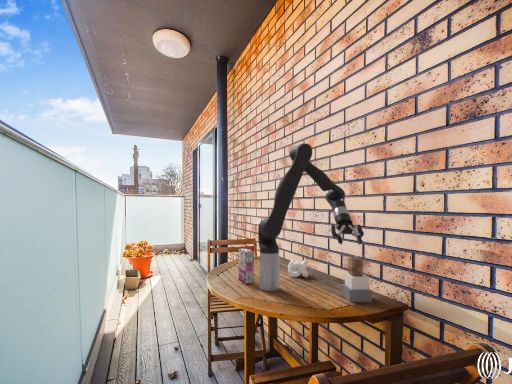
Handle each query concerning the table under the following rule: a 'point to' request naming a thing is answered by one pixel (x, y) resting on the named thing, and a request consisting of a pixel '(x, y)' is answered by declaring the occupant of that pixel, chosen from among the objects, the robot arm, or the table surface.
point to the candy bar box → (246, 266)
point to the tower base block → (357, 294)
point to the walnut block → (355, 266)
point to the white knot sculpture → (298, 268)
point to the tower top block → (357, 282)
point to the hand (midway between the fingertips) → (350, 243)
